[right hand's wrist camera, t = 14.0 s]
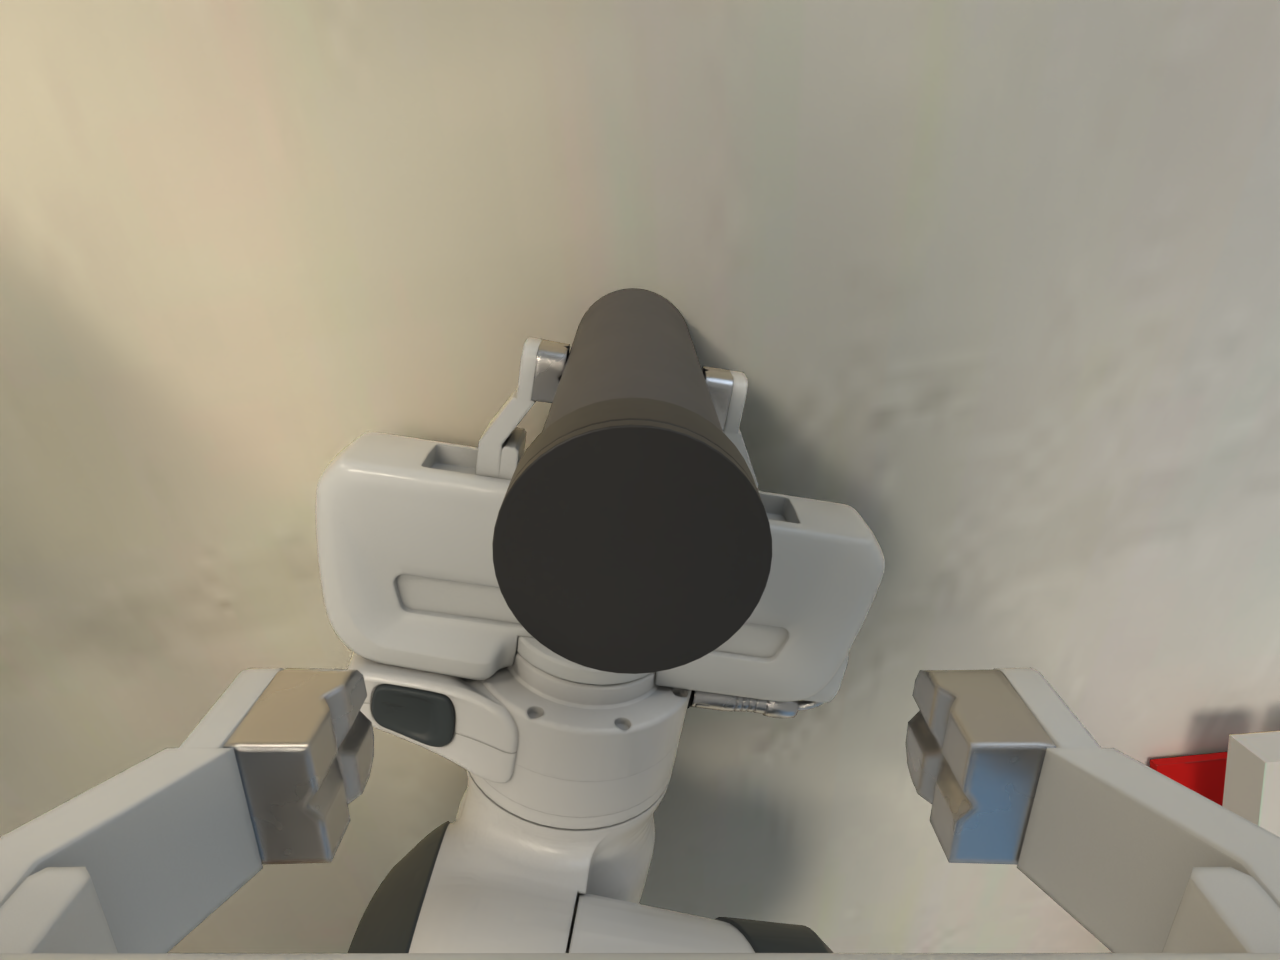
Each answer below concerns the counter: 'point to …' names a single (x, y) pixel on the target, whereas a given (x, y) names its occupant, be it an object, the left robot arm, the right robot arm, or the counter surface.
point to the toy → (1235, 776)
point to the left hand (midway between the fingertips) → (635, 357)
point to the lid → (632, 537)
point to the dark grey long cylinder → (632, 357)
